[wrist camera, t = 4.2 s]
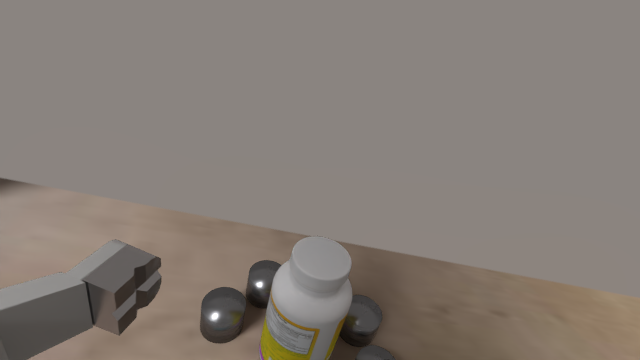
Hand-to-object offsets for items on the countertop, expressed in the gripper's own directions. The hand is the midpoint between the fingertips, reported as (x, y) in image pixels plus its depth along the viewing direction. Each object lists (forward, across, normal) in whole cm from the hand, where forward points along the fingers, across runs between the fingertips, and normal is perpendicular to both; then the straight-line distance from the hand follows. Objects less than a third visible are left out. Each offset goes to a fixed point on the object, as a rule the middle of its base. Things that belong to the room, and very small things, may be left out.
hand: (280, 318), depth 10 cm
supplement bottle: (+13, 0, -22) cm, 26 cm away
